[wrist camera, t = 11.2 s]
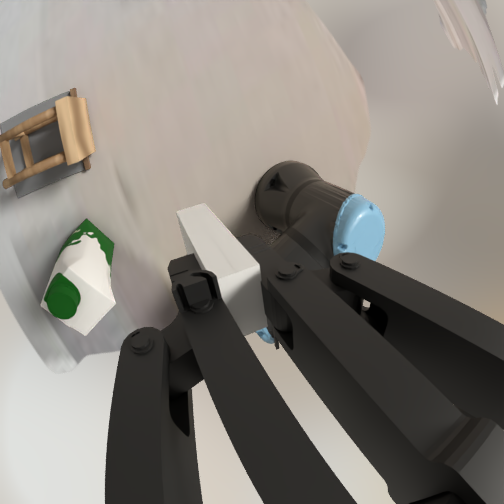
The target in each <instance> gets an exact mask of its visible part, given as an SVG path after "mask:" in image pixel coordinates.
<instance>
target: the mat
mask: <svg viewBox="0 0 504 504" xmlns="http://www.w3.org/2000/svg"><path fill="white" fill-rule="evenodd" d="M66 96H70V93H69V91H68V92H65V93H63V94H60V95H58V96H56V97H53V98H51V99H49V100H46V101H44V102H42V103H40V104H38V105H35V106H33V107H31V108H29V109H27V110H25V111H23V112H21V113H19V114H18V115H16V116H14V117H12V118H10V119H8V120H7V121H5V122H3V123H1V124H0V126H1V132H2V134H3V133H5V132H6V131H8V130H10V129H11V128H13V127H15V126H17V125H18V124H20V123H22V122H24V121H26V120H28V119H30V118H32V117H34V116H36V115H38V114H40V113H42V112H44V111H46V110H48V109H50V108H52V107H55V106H56V105H55V101H57V100H59V99H61V98H64V97H66ZM28 138H29V143H30V148H31V152H32V157H33V161H34V164H35V163H37V162H39V161H42V160H44V159H46V158H48V157H51V156H53V155H56V154H58V153H60V152H63V151H64V148H63V143H62V139H61V134H60V129H59V123H58V121H56V122H53V123H51V124H49V125H47V126H44V127H42V128H40V129H38V130H36V131H34V132H32V133H30V134H28ZM9 144H10V149H11V153H12V158H13V162H14V166H15V170H16V173H18V172H20V171H22V170H23V169H25V168H26V164H25V160H24V155H23V151H22V146H21V142H20V139H19V140H17V141H15V140H14V139H12V140H9ZM83 170H85V169H84V166H83V161H82V160H81V161H79V162H76V163H73V164H71V165H67V162H64V163H62V164H59V165H57V166H54V167H52V168H50V169H47V170H45V171H43V172H40V173H38V174H36V175H34V176H32V177H29V178H27V179H25V180H23V181H21V182H19V183H17V184H15V185H14V187H15V191H16V194H17V197H18V198H20V197H22V196H24V195H26V194H28V193H30V192H33V191H35V190H37V189H39V188H41V187H44V186H46V185H48V184H51V183H53V182H55V181H58V180H60V179H63V178H65V177H68V176H70V175H73V174H75V173H78V172H81V171H83Z"/></svg>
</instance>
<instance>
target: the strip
mask: <svg viewBox="0 0 504 504" xmlns="http://www.w3.org/2000/svg"><path fill="white" fill-rule="evenodd" d="M70 94H71V97H77V93H76V88H73V89H70ZM83 162H84V166H85V170H88V169H90V168H91V165H90V161H89V157H88V156H87V157H85V158H84V159H83Z"/></svg>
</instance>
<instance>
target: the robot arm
mask: <svg viewBox="0 0 504 504" xmlns="http://www.w3.org/2000/svg"><path fill="white" fill-rule="evenodd" d="M255 207H256V211H257V214H258V216H259V218H260V220H261V221H262V222H263V223H264V224H265V225H266V226H267V227H269V228H270V229H271V230H273V231H275V232H277V233H281V235H280V236H279V237H278V238H277V239H276V240H275V241H274V242H273V243H272V244H271V245H270V246H269V245H268V244H266V242H264V241H263V240H262V239H261V238H260V237H258V236H255V235H252V234H248V235H245V236H242V237H238V238H235V237H234V235H233V234H232V233H231V232H230V231H229V230H228V229H227V228H226V227H225V225H224V224H223V223H222V222H221V221H220V220H219V219H218V218H217V216H216V215H215V214H214V213H213V212H212V211H211V210H210V209H209V208H208V206H207V205H206V204H205V203H202V204H199V205H196V206H192V207H189V208H186V209H182V210H179V211H176V213H177V217H178V221H179V225H180V228H181V232H182V236H183V239H184V243H185V247H186V250H187V254H188V255H186V256H183V257H180V258H177V259H174V260H171V261H170V263H169V266H168V272H169V275H170V279H171V282H172V293H173V296H174V299H175V301H176V304H177V306H178V309H179V313H178V315H177V317H176V319H175V320H174V321H173V322H172V323H171V324H170V325H169V326H167V327H166V328H164V329H163V330H161V331H159V330H158V329H155V328H153V327H144V328H141V329H137V330H135V331H134V332H132V333H130V334H129V335H128V336H127V337H126V339H125V340H124V342H123V344H122V346H121V351H120V356H119V361H118V366H117V372H116V378H115V384H114V390H113V397H112V404H111V411H110V420H109V429H108V440H107V453H106V471H105V472H106V473H105V504H203V501H202V495H201V487H200V479H199V471H198V463H197V452H196V442H195V430H194V416H193V403H192V402H193V401H192V389H191V388H192V387H194V386H195V385H196V384H198V383H199V382H201V381H202V380H203V379H204V380H205V383H206V385H207V388H208V390H209V392H210V395H211V397H212V400H213V402H214V404H215V407H216V409H217V411H218V414H219V416H220V418H221V420H222V423H223V425H224V427H225V429H226V431H227V434H228V436H229V437H230V440H231V442H232V444H233V446H234V448H235V450H236V452H237V454H238V456H239V458H240V460H241V462H242V464H243V466H244V468H245V470H246V472H247V474H248V476H249V478H250V479H251V481H252V483H253V485H254V487H255V489H256V490H257V492H258V494H259V496H260V497H261V499H262V501H263V503H264V504H357V503H356V501H355V500H354V499H353V498H352V496H351V495H350V494H349V492H348V491H347V490H346V489H345V487H344V486H343V484H342V483H341V482H340V480H339V479H338V478H337V477H336V475H335V474H334V472H333V471H332V470H331V468H330V467H329V466H328V464H327V463H326V462H325V460H324V458H323V457H322V456H321V454H320V453H319V452H318V450H317V449H316V447H315V446H314V444H313V443H312V441H311V440H310V439H309V437H308V436H307V434H306V433H305V431H304V430H303V428H302V427H301V425H300V424H299V422H298V421H297V419H296V418H295V416H294V415H293V414H292V412H291V410H290V409H289V407H288V406H287V404H286V403H285V401H284V400H283V398H282V397H281V395H280V393H279V392H278V390H277V389H276V387H275V386H274V384H273V382H272V381H271V379H270V378H269V376H268V375H267V373H266V371H265V370H264V368H263V366H262V365H261V363H260V362H259V360H258V358H257V357H256V355H255V353H254V352H253V350H252V348H251V347H250V345H249V343H248V342H247V340H246V338H245V337H244V336H246V335H248V334H251V333H253V332H256V333H257V334H258V335H259V336H260V338H262V339H263V340H264V341H265V342H267V343H270V344H272V343H275V347H276V349H279V342H280V344H281V345H282V347H283V348H284V349H285V351H286V352H287V353H288V355H289V356H290V358H291V359H292V361H293V362H294V363H295V364H296V366H297V367H298V369H299V370H300V371H301V373H302V374H303V376H304V377H305V378H306V380H307V381H308V382H309V384H310V385H311V386H312V388H313V389H314V390H315V392H316V393H317V395H318V396H319V397H320V398H321V400H322V401H323V403H324V404H325V405H326V406H327V408H328V409H329V410H330V412H331V413H332V414H333V416H334V417H335V418H336V419H337V421H338V422H339V423H340V425H341V426H342V427H343V429H344V430H345V431H346V433H347V434H348V435H349V436H350V438H351V439H352V440H353V441H354V443H355V444H356V445H357V447H358V448H359V449H360V451H361V452H362V453H363V454H364V456H365V457H366V458H367V459H368V460H369V462H370V463H371V464H372V465H373V467H374V468H375V469H376V470H377V472H378V473H379V474H380V475H381V477H382V478H383V479H384V480H385V482H386V483H387V486H388V492H389V495H390V497H391V498H392V500H393V501H394V502H395V503H396V504H504V325H503V324H501V323H499V322H498V321H496V320H494V319H492V318H490V317H488V316H486V315H484V314H482V313H481V312H479V311H477V310H475V309H473V308H471V307H469V306H467V305H465V304H463V303H461V302H459V301H457V300H455V299H453V298H451V297H449V296H447V295H445V294H443V293H441V292H439V291H437V290H435V289H433V288H431V287H429V286H427V285H425V284H423V283H421V282H418V281H417V280H414V279H412V278H410V277H408V276H406V275H404V274H401V273H399V272H397V271H395V270H393V269H391V268H389V267H386V266H384V265H382V264H380V263H378V262H375V261H376V259H377V257H378V255H379V253H380V251H381V248H382V245H383V239H384V234H385V223H384V218H383V215H382V213H381V211H380V209H379V208H378V207H377V206H376V205H375V204H374V203H372V202H370V201H369V200H367V199H365V198H364V197H363V196H362V195H359V194H355V193H353V192H350V191H348V190H345V189H343V188H341V187H338V186H336V185H333V184H331V183H328V182H326V181H324V180H323V179H322V178H321V177H320V176H319V175H318V173H317V172H316V171H315V170H314V169H313V168H311V167H310V166H308V165H306V164H303V163H300V162H297V161H285V162H282V163H279V164H277V165H275V166H274V167H272V168H271V169H270V170H269V171H267V173H266V174H265V175H264V176H263V178H262V179H261V181H260V183H259V185H258V187H257V191H256V195H255ZM364 299H365V300H367V301H368V302H370V307H369V308H367V307H364V306H363V300H364ZM453 404H454V405H453Z"/></svg>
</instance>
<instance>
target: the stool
mask: <svg viewBox="0 0 504 504" xmlns="http://www.w3.org/2000/svg"><path fill="white" fill-rule="evenodd" d="M55 105H56V106H55V107H52V108H50V109H48V110H46V111H44V112H42V113H40V114H38V115H36V116H34V117H32V118H30V119H28V120H26V121H24V122H22V123H20V124H18V125H17V126H15V127H13V128H11V129H10V130H8V131H6V132H5V133H3V134H1V135H0V148H1V153H2V157H3V161H4V165H5V169H6V173H7V177H8V178H7V179H5V180H4V181H3V187H4V188H5V189H7V188H9V187H11V186H13V185H15V184H17V183H19V182H21V181H23V180H25V179H27V178H29V177H32V176H34V175H36V174H38V173H40V172H43V171H45V170H47V169H50V168H52V167H54V166H57V165H59V164H62V163H64V162H67V165H71V164H73V163H76V162H79V161H81V160H82V159H84V158H85V157H87V156H89V155H90V154H92V153H94V152H95V151H96V150H95V145H94V141H93V136H92V131H91V126H90V120H89V115H88V109H87V102H86V98H78V97H70V96H66V97H64V98H61V99H59V100H57V101H55ZM56 121H58V123H59V129H60V134H61V139H62V143H63V148H64V151H63V152H60V153H58V154H56V155H53V156H51V157H48V158H46V159H44V160H42V161H39V162H37V163H35V164H34V161H33V157H32V152H31V148H30V143H29V138H28V134H30V133H32V132H34V131H36V130H38V129H40V128H42V127H44V126H47V125H49V124H51V123H53V122H56ZM12 139H14V140H15V141H17V140H19V139H20V142H21V146H22V151H23V155H24V160H25V164H26V168H25V169H23V170H22V171H20V172H18V173H16V170H15V166H14V162H13V158H12V153H11V149H10V144H9V140H12Z"/></svg>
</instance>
